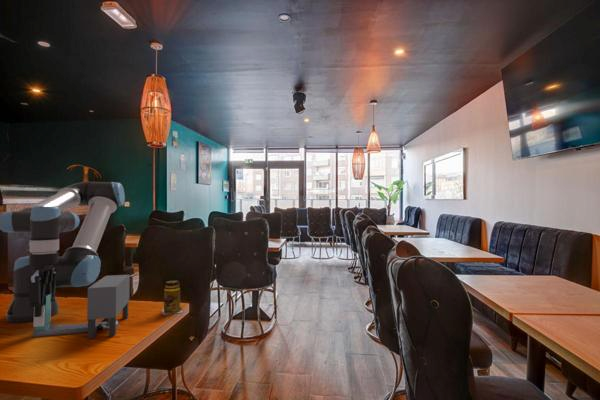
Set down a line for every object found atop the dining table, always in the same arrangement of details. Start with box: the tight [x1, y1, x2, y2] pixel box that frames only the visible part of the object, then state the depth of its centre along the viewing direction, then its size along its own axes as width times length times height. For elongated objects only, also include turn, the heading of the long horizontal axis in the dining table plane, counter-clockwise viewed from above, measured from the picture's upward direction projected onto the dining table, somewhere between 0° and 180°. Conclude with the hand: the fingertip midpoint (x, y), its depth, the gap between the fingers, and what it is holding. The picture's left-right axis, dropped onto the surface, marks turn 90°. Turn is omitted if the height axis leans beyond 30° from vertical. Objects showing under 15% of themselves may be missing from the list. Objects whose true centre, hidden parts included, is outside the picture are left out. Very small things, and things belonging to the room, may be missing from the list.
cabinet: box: [86, 274, 131, 340], centre depth 107 cm, size 18×8×16 cm, turn 17°
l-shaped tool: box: [32, 294, 103, 338], centre depth 103 cm, size 18×5×12 cm, turn 106°
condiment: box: [161, 280, 183, 316], centre depth 124 cm, size 7×8×12 cm
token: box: [100, 319, 119, 331], centre depth 106 cm, size 5×5×2 cm
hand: (42, 323), depth 101 cm, fingers closed on l-shaped tool, 3 cm apart
